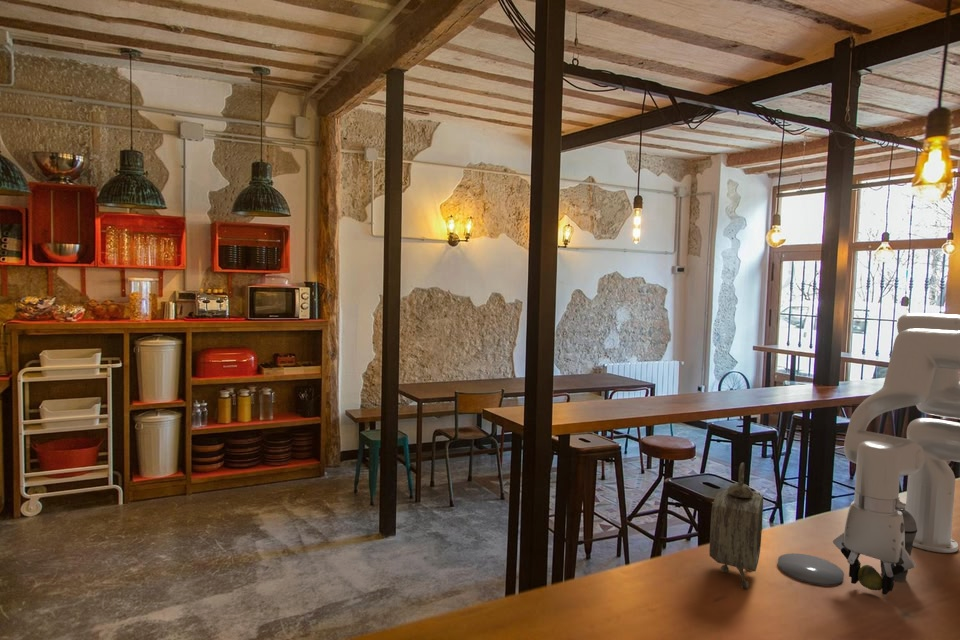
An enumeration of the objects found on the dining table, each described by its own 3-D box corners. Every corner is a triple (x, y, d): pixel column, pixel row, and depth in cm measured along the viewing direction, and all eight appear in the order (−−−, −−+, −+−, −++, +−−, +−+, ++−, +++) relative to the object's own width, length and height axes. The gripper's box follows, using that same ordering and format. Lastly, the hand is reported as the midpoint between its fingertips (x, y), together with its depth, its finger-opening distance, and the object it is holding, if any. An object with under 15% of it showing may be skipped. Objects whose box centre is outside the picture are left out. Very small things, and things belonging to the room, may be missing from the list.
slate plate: (791, 552, 144) (791, 548, 144) (852, 573, 134) (852, 568, 134) (767, 568, 135) (768, 564, 135) (831, 591, 125) (831, 587, 125)
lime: (858, 581, 128) (859, 558, 128) (885, 588, 125) (886, 565, 125) (854, 589, 125) (856, 566, 124) (882, 597, 122) (884, 573, 121)
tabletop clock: (753, 595, 123) (759, 475, 122) (706, 583, 128) (712, 468, 126) (759, 567, 136) (765, 458, 134) (717, 557, 140) (722, 452, 139)
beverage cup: (920, 587, 129) (927, 495, 127) (882, 582, 130) (889, 492, 129) (903, 571, 136) (910, 484, 134) (868, 567, 137) (874, 481, 136)
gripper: (930, 509, 120) (924, 597, 121) (836, 486, 132) (832, 566, 134) (920, 519, 115) (914, 610, 116) (824, 494, 127) (819, 577, 129)
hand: (870, 586), depth 125 cm, fingers closed on lime, 4 cm apart
